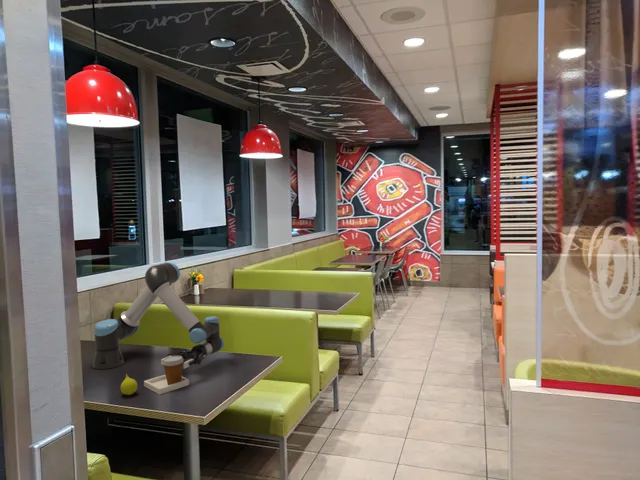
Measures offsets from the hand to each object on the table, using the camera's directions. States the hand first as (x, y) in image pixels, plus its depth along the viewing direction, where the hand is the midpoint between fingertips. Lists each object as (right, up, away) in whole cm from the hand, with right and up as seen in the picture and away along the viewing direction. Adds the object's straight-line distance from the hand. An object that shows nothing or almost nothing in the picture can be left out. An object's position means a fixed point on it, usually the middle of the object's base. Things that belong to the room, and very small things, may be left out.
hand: (172, 364), depth 222 cm
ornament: (-16, -11, -12) cm, 23 cm away
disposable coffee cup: (+2, -9, -3) cm, 9 cm away
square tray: (-2, -9, -3) cm, 10 cm away
